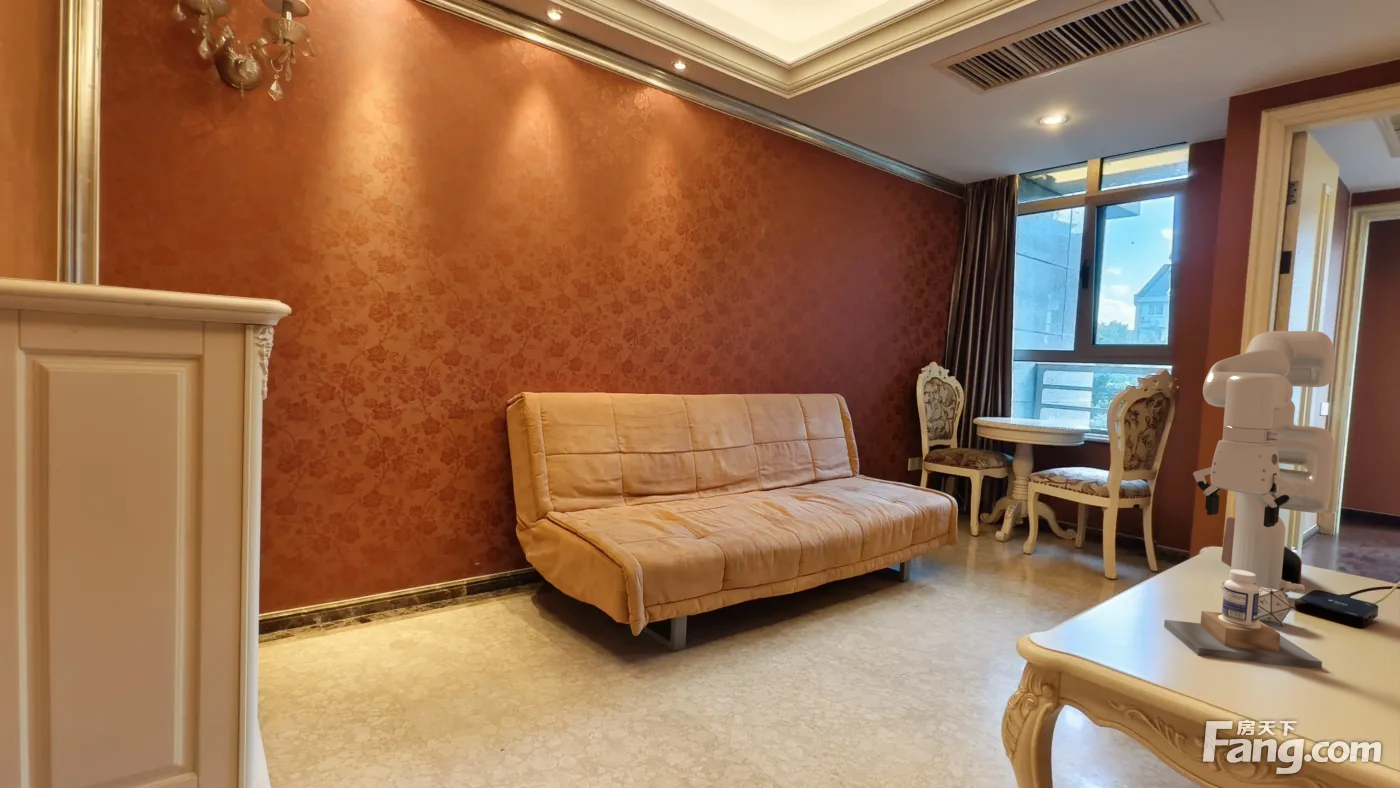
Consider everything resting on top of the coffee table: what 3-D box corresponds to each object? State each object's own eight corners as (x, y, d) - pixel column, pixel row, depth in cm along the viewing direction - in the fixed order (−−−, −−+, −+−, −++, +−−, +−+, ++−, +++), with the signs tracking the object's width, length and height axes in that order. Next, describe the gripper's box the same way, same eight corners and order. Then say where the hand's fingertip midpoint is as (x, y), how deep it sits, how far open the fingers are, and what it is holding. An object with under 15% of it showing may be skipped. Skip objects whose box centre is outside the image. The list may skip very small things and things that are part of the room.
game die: (1271, 642, 142) (1280, 615, 137) (1229, 615, 149) (1236, 588, 144) (1299, 619, 144) (1309, 592, 138) (1256, 594, 151) (1264, 566, 145)
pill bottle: (1243, 616, 133) (1247, 568, 132) (1263, 627, 128) (1268, 577, 127) (1214, 614, 133) (1218, 567, 133) (1234, 625, 128) (1238, 576, 127)
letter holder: (1253, 583, 171) (1258, 530, 170) (1220, 561, 190) (1224, 513, 189) (1301, 588, 168) (1306, 534, 167) (1262, 566, 187) (1267, 517, 186)
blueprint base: (1273, 638, 135) (1275, 613, 135) (1321, 669, 122) (1323, 642, 121) (1164, 626, 140) (1165, 602, 139) (1198, 655, 126) (1200, 628, 126)
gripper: (1310, 441, 126) (1302, 528, 127) (1206, 430, 141) (1201, 508, 142) (1292, 443, 122) (1284, 533, 123) (1188, 431, 137) (1182, 512, 139)
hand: (1239, 520), depth 133 cm, fingers open, 9 cm apart
